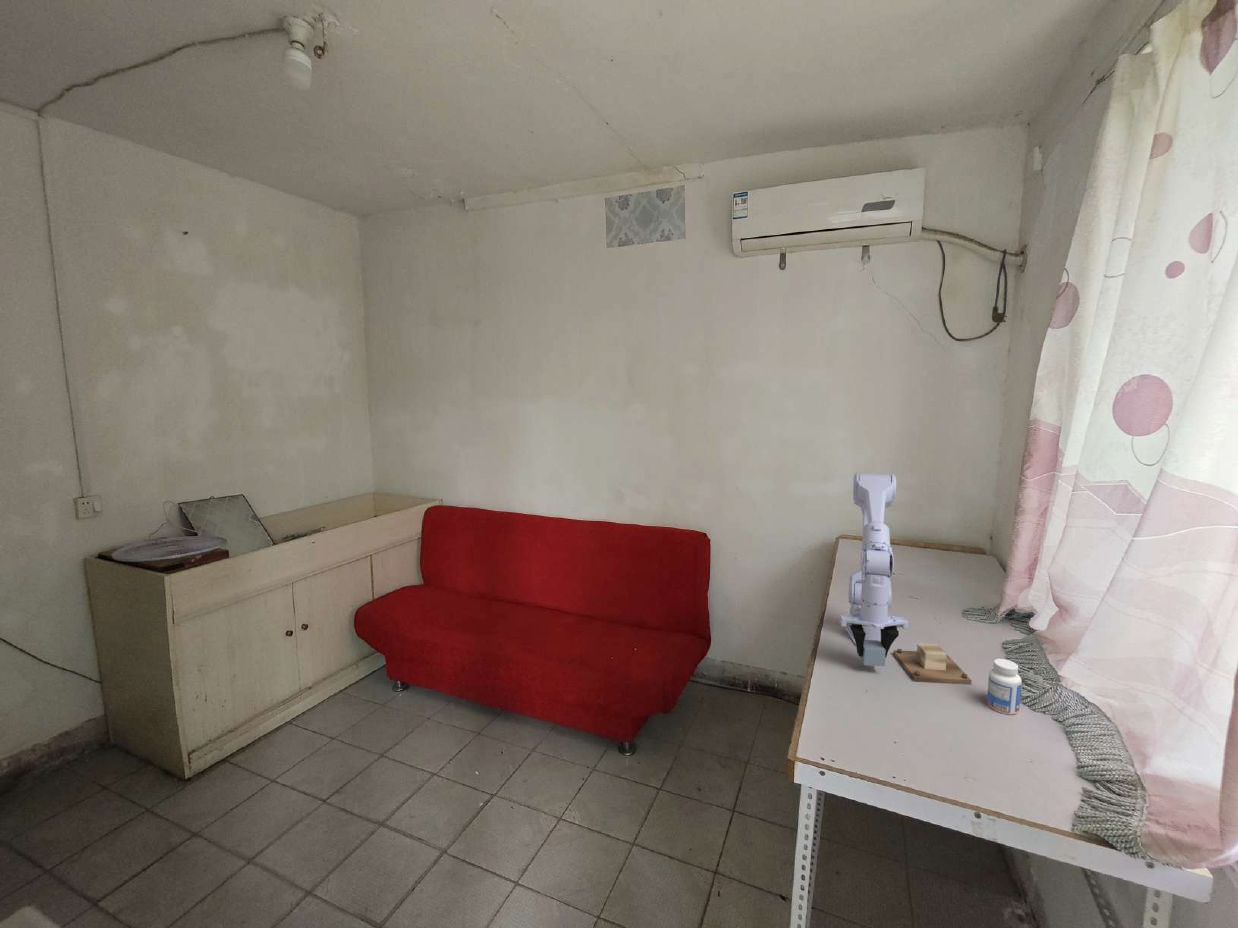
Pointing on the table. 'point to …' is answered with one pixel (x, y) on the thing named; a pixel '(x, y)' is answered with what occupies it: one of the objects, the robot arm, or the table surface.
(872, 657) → the slate block
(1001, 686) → the pill bottle
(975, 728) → the table surface
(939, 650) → the birch block
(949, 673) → the base plate
